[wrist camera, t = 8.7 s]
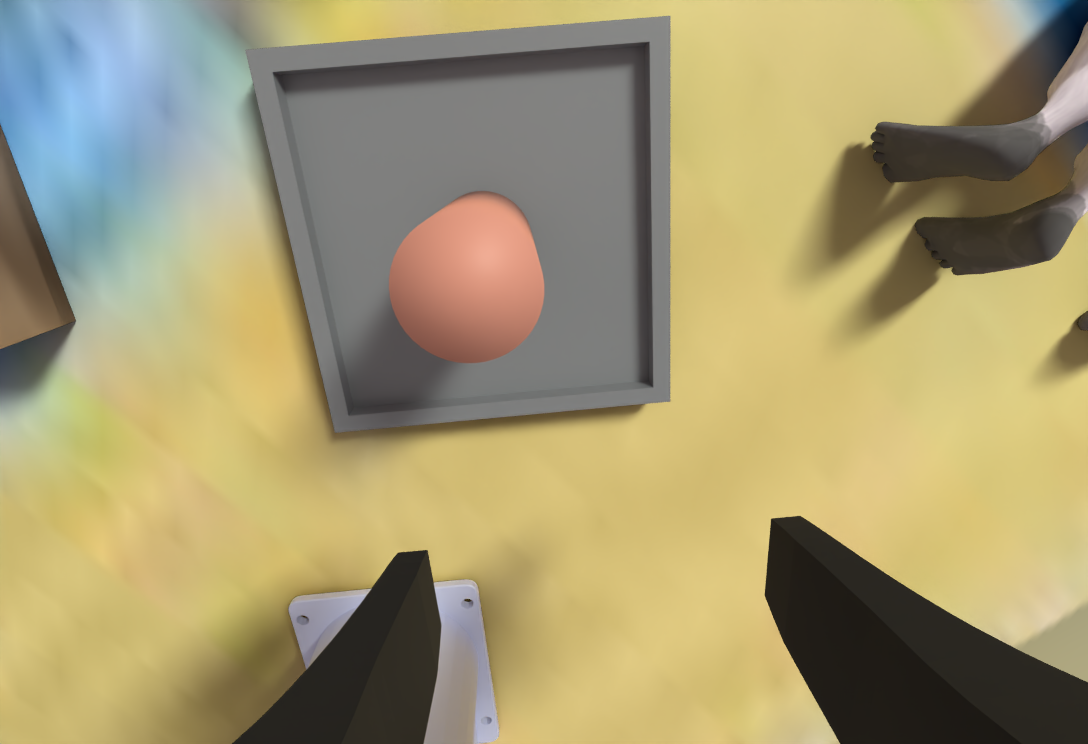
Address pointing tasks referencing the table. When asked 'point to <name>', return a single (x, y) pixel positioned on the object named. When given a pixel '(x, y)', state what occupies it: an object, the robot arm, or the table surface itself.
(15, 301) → the holder
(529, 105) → the tray
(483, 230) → the pink rounded capsule
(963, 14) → the table surface
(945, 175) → the yeti figurine
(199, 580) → the table surface
